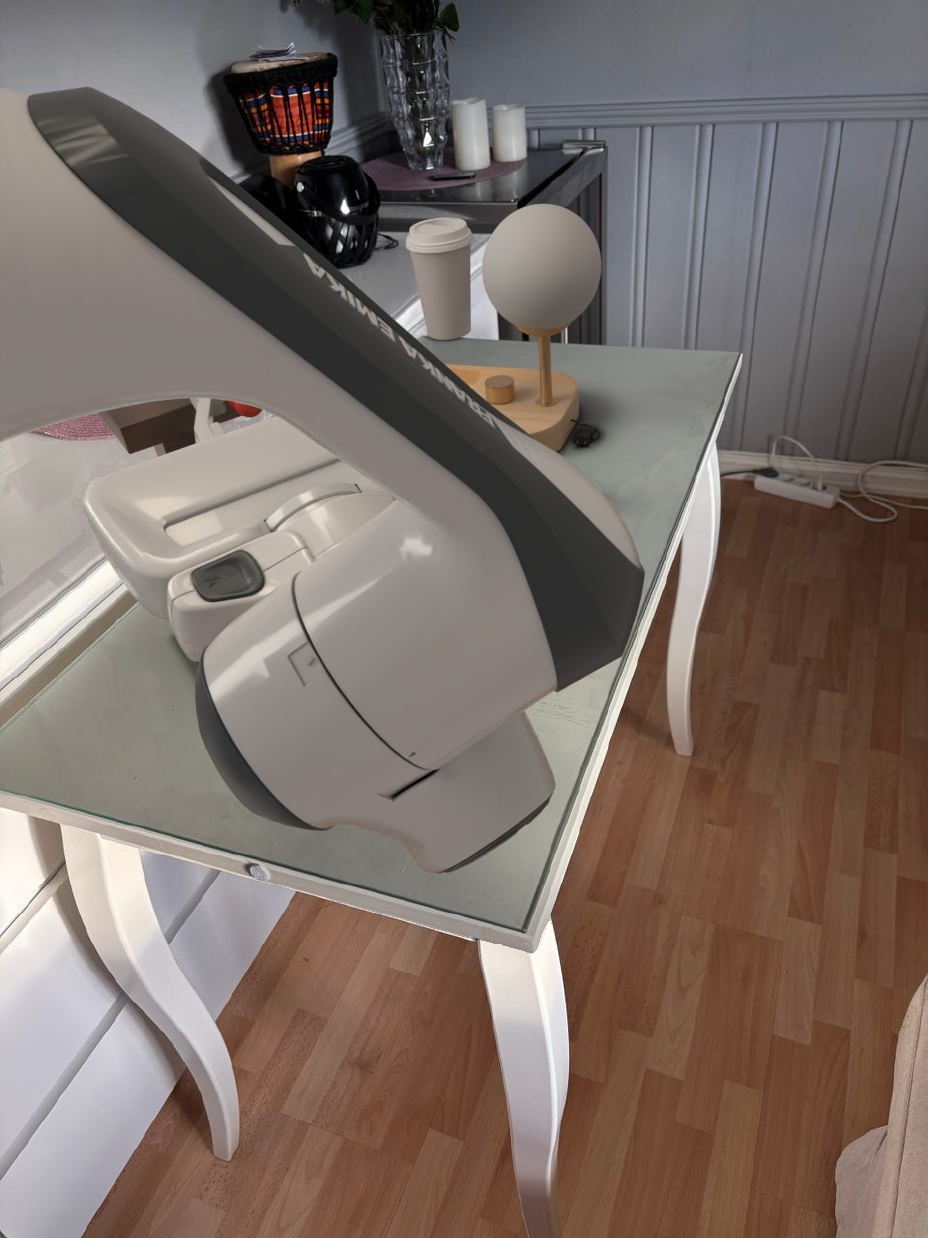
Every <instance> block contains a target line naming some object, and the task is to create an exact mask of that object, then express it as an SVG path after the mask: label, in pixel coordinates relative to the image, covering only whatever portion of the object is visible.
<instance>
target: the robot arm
mask: <svg viewBox="0 0 928 1238" xmlns="http://www.w3.org/2000/svg"><path fill="white" fill-rule="evenodd" d="M445 364H446V363H444V362H443V361H442V360H441V359H439V358H438V357H437V356H436V355H435V354H434V353H433V352H432V351H430V350H429V349H428V348H427V347H426V346H425V345H424V344H423V343H421V341H419V340H418V339H417V338H416V337H415V336H414V335H413V334H412V333H410V332H409V331H408V330H407V329H406V328H404V326H403V325H401V324H400V323H399V322H398V321H397V320H395V319H394V318H393V317H392V316H391V315H390V314H389V313H388V312H387V311H385V309H383V308H382V307H381V306H380V305H378V304H377V303H376V301H374V300H373V299H372V298H371V297H370V296H368V295H367V293H366V292H364V291H363V290H362V289H360V288H359V287H358V286H357V285H356V284H355V283H354V282H352V280H350V278H348V277H347V276H346V275H345V274H344V273H343V272H341V271H340V270H339V269H338V268H337V267H336V266H335V265H333V264H332V263H331V262H330V261H329V260H328V259H327V258H326V257H324V256H323V255H322V254H321V253H320V252H318V251H317V250H316V249H315V248H314V247H313V246H312V245H311V244H309V243H308V242H307V241H306V240H305V239H303V238H302V237H301V236H300V235H299V234H298V233H296V231H294V230H293V229H292V228H291V227H290V226H289V225H287V224H286V223H285V222H284V221H283V220H281V219H280V218H279V217H278V216H277V215H275V214H274V213H273V212H272V211H270V210H269V209H268V208H267V207H266V206H264V205H263V204H262V203H261V202H260V201H259V200H257V199H256V198H255V197H253V195H251V194H250V193H249V192H248V191H247V190H245V189H244V188H243V187H242V186H240V185H239V184H238V183H237V182H235V181H234V180H233V179H232V178H231V177H229V176H228V175H227V174H225V173H224V172H223V171H222V170H221V169H219V168H218V167H217V166H216V165H214V164H213V162H211V161H210V160H209V159H207V158H206V157H205V156H203V155H202V154H201V153H200V152H198V151H197V150H196V149H194V148H193V147H192V146H191V145H189V143H187V142H185V141H184V140H182V139H181V138H179V137H178V136H176V135H175V134H174V133H172V132H171V131H169V130H168V129H167V128H165V127H164V126H162V125H161V124H160V123H159V122H157V121H155V120H153V119H151V118H150V117H149V116H147V115H145V114H143V113H142V112H139V111H138V110H137V109H135V108H133V107H132V106H130V105H128V104H126V103H125V102H122V101H121V100H118V99H116V98H115V97H112V96H111V95H108V94H107V93H104V92H103V91H100V90H99V89H96V88H94V87H91V86H82V87H75V88H68V89H60V90H52V91H46V92H39V93H32V94H30V95H26V94H24V93H20V92H17V91H14V90H12V89H8V88H5V87H1V86H0V443H3V442H6V441H8V440H10V439H14V438H16V437H20V436H22V435H25V434H29V433H32V432H34V431H38V430H41V429H43V428H47V427H50V426H53V425H57V424H61V423H63V422H67V421H71V420H75V419H79V418H82V417H87V416H90V415H93V414H98V412H102V411H107V410H112V409H116V408H121V407H126V406H131V405H136V404H142V403H148V402H153V401H161V400H171V399H180V398H190V400H191V402H192V404H193V406H194V408H195V409H196V418H195V425H194V433H195V441H196V444H193V445H190V446H187V447H185V448H182V449H179V450H176V451H173V452H170V453H167V454H164V455H162V456H159V457H158V456H156V457H153V458H150V459H148V460H144V461H141V462H139V463H136V464H134V465H130V466H128V467H125V468H122V469H119V470H117V471H113V472H110V473H106V474H105V475H101V476H98V477H96V478H93V479H92V480H90V481H89V482H88V484H87V486H86V488H85V492H84V494H83V497H82V500H81V505H82V509H83V512H84V516H85V519H86V521H87V523H88V527H89V528H90V531H91V532H92V533H91V534H92V535H93V537H94V539H95V540H96V542H97V544H98V547H99V548H100V549H101V552H102V553H103V555H104V556H105V558H106V560H107V561H108V563H109V564H110V566H111V567H112V569H113V570H114V572H115V573H116V575H117V576H118V577H119V579H120V580H121V582H122V583H123V584H124V586H125V587H126V589H127V591H128V592H129V593H130V594H131V595H132V596H133V597H134V599H135V600H136V601H137V602H138V603H139V604H140V606H142V607H143V608H144V609H145V610H146V611H147V612H149V613H150V614H151V615H153V616H155V617H157V618H159V619H161V620H165V621H168V622H169V623H170V626H171V629H172V632H173V635H174V637H175V639H176V642H177V644H178V645H179V647H180V648H181V650H182V652H183V653H184V654H185V655H186V657H187V658H188V659H189V660H191V662H193V661H196V662H199V665H198V669H197V671H196V675H195V686H194V688H195V689H194V699H195V701H194V702H195V711H196V712H195V713H196V719H197V725H198V731H199V734H200V737H201V740H202V742H203V745H204V747H205V750H206V752H207V753H208V756H209V758H210V759H211V762H212V763H213V766H214V767H215V769H216V771H217V772H218V774H219V775H220V777H221V779H222V780H223V782H224V783H225V785H226V786H227V787H228V789H229V790H230V792H231V793H232V794H233V796H234V797H235V798H236V799H237V800H238V801H239V802H240V804H242V805H243V806H244V807H245V809H247V810H248V811H249V812H251V813H252V814H254V815H257V816H259V817H261V818H264V819H266V820H269V821H272V822H275V823H278V824H281V825H283V826H288V827H291V828H296V829H301V830H307V831H317V832H318V831H320V832H323V831H324V832H325V831H328V830H331V829H332V828H334V827H336V826H346V827H352V828H356V829H362V830H366V831H370V832H373V833H376V834H379V835H383V836H385V837H388V838H390V839H392V840H394V841H395V842H396V844H398V845H399V846H400V847H401V848H402V850H403V851H404V852H405V853H406V854H407V855H408V857H410V859H411V860H412V861H413V862H414V863H415V864H416V866H418V868H420V869H421V870H422V871H424V872H425V873H428V874H434V875H439V874H444V873H446V874H447V873H452V872H455V871H458V870H459V869H461V868H464V867H466V866H469V865H470V864H473V863H474V862H476V861H478V860H479V859H481V858H482V857H484V856H486V855H488V854H489V853H491V852H493V851H494V850H495V849H497V848H498V847H500V846H501V845H503V844H504V843H506V842H508V841H509V840H510V839H511V838H513V837H514V836H515V835H517V833H518V832H520V830H522V829H523V828H524V827H526V826H527V825H530V824H531V823H532V822H533V821H534V820H535V819H536V818H537V817H538V816H539V815H540V814H541V813H542V812H543V811H544V810H545V809H546V807H547V806H548V805H549V803H550V802H551V801H550V800H551V797H553V794H554V792H555V790H556V785H557V783H556V779H555V776H554V772H553V770H552V767H551V766H550V763H549V760H548V758H547V755H546V753H545V750H544V748H543V745H542V744H541V741H540V740H539V737H538V735H537V733H536V730H535V729H534V727H533V724H532V722H531V720H530V718H529V716H528V714H527V712H526V710H528V709H529V708H531V707H532V706H534V705H535V704H537V703H539V701H541V700H543V699H544V698H546V697H547V696H548V695H550V694H552V693H553V692H555V693H559V692H562V691H563V690H565V689H566V688H568V687H569V686H571V685H574V684H575V683H577V682H579V681H580V680H582V679H585V678H586V677H587V676H590V675H592V674H593V673H595V672H597V671H598V670H600V669H602V668H603V667H605V666H607V665H609V664H611V663H613V662H615V661H616V660H618V659H620V658H622V657H623V656H624V653H625V650H626V648H627V645H628V642H629V640H630V638H631V635H632V631H633V628H634V625H635V622H636V619H637V617H638V613H639V608H640V604H641V599H642V597H643V590H644V583H645V576H646V571H645V569H644V567H643V565H642V563H641V560H640V556H639V553H638V549H637V546H636V544H635V542H634V541H635V540H634V539H633V537H632V534H631V532H630V530H629V529H628V526H627V525H626V523H625V521H624V520H623V518H622V517H621V514H620V513H619V512H618V510H617V509H616V507H615V506H614V504H613V503H612V502H611V501H610V499H609V498H608V497H607V495H605V493H604V492H603V490H602V489H601V488H599V486H598V485H597V484H596V483H595V482H594V481H593V480H592V479H591V478H590V477H589V476H588V475H587V474H586V473H585V472H584V471H582V470H581V469H580V467H578V466H576V465H575V464H574V463H572V462H571V461H570V460H569V459H567V458H566V457H564V456H563V455H561V454H560V453H559V452H558V451H557V452H555V451H554V450H552V449H550V448H548V447H547V446H545V445H543V444H542V443H540V442H538V441H537V440H536V439H534V438H533V437H532V436H531V435H530V434H528V433H527V432H526V431H525V430H523V429H522V428H521V427H519V426H518V425H517V424H516V423H514V422H513V421H512V420H510V419H509V418H508V417H506V416H505V415H504V414H502V413H501V412H500V411H498V410H497V409H496V408H495V407H493V406H492V405H491V404H490V403H488V402H487V401H486V400H485V399H484V398H482V397H481V396H480V395H479V394H478V393H477V392H475V391H474V390H473V389H472V388H471V387H470V386H469V385H467V384H466V383H465V382H464V381H463V380H462V379H461V378H460V377H458V376H457V375H456V374H455V373H454V372H453V371H452V370H451V369H449V368H448V367H447V366H446V365H445ZM225 400H230V401H234V402H238V403H243V404H247V405H251V406H254V407H257V408H260V409H262V411H265V412H267V413H269V414H271V415H273V416H270V417H268V418H264V419H262V420H259V421H256V422H253V423H251V424H247V425H245V426H242V427H239V428H236V429H233V430H230V431H228V432H226V431H225V430H224V428H223V427H222V424H221V423H218V422H215V423H213V417H215V416H218V415H221V414H223V413H226V405H225V403H224V401H225Z"/></svg>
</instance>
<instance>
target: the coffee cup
mask: <svg viewBox="0 0 928 1238" xmlns="http://www.w3.org/2000/svg"><path fill="white" fill-rule="evenodd" d="M473 241H474V235H473V232H472V230H471V228H469V227H468V223H467V222H466V220H464V219H461V218H459V217H458V218H457V217H436V218H429V219H425V220H422V221H419V222H416V223H413V225H411V226H410V227H409V230H408V235H407V236H406V240H405V248H406V249H407V250H408V251H409V253H410V258H411V263H412V267H413V272H414V276H415V280H416V286H417V290H418V291H417V292H418V295H419V300H420V305H421V310H422V314H423V318H424V323H425V329H426V333H427V336H428V337H429V338H431V339H434V340H437V341H451V340H456V339H460V338H462V337H463V338H464V337H465V336H467V335H468V334H470V333H471V331H472V313H471V312H472V311H471V310H472V303H471V301H472V298H471V297H472V295H471V294H472V292H471V290H472V289H471V288H472V287H471V286H472V285H471V284H472V283H471V244H472V243H473Z"/></svg>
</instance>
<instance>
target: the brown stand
mask: <svg viewBox="0 0 928 1238" xmlns="http://www.w3.org/2000/svg"><path fill="white" fill-rule="evenodd" d="M224 403H225V405H226V413H223V414H221V415H218V416H215V417H213V423H215V422H218V423H220V424H223V423H226V422H228V421H232V420H234V419H238V418H240V417H243V416H242V415H240V414H239V413H238V412H237V411H236V410H235V409H234V408H232V407H231V406H230V405H229V404H228V403H227V402H226V401H224ZM97 414H98V416H99V417H100V418H101V419H102V420H103V423H104V424H105V425H106V426H107V427H108V429H109V430H110V431H111V433H112V434H113V435H114V436H115V437H116V439H117V440H118V442H119V443H120V444H121V445H122V447H123V449H125V450H126V452H127V453H128V454H129V455H132V454H135V453H137V452H138V453H139V452H141V451H144V450H147V449H149V448H152V447H154V450H155V454H156V457H159V456H162V455H164V454H167V453H170V452H173V451H176V450H179V449H182V448H185V447H187V446H190V445H193V444H196V441H195V433H194V425H195V418H196V409H195V408H194V406H193V404H192V402H191V400H190V398H180V399H171V400H161V401H153V402H148V403H142V404H136V405H131V406H126V407H121V408H116V409H112V410H107V411H102V412H98V413H97ZM192 663H193V665H194V666H195V667H196V669H197V670H198V665H199V662H196V661H192Z"/></svg>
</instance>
